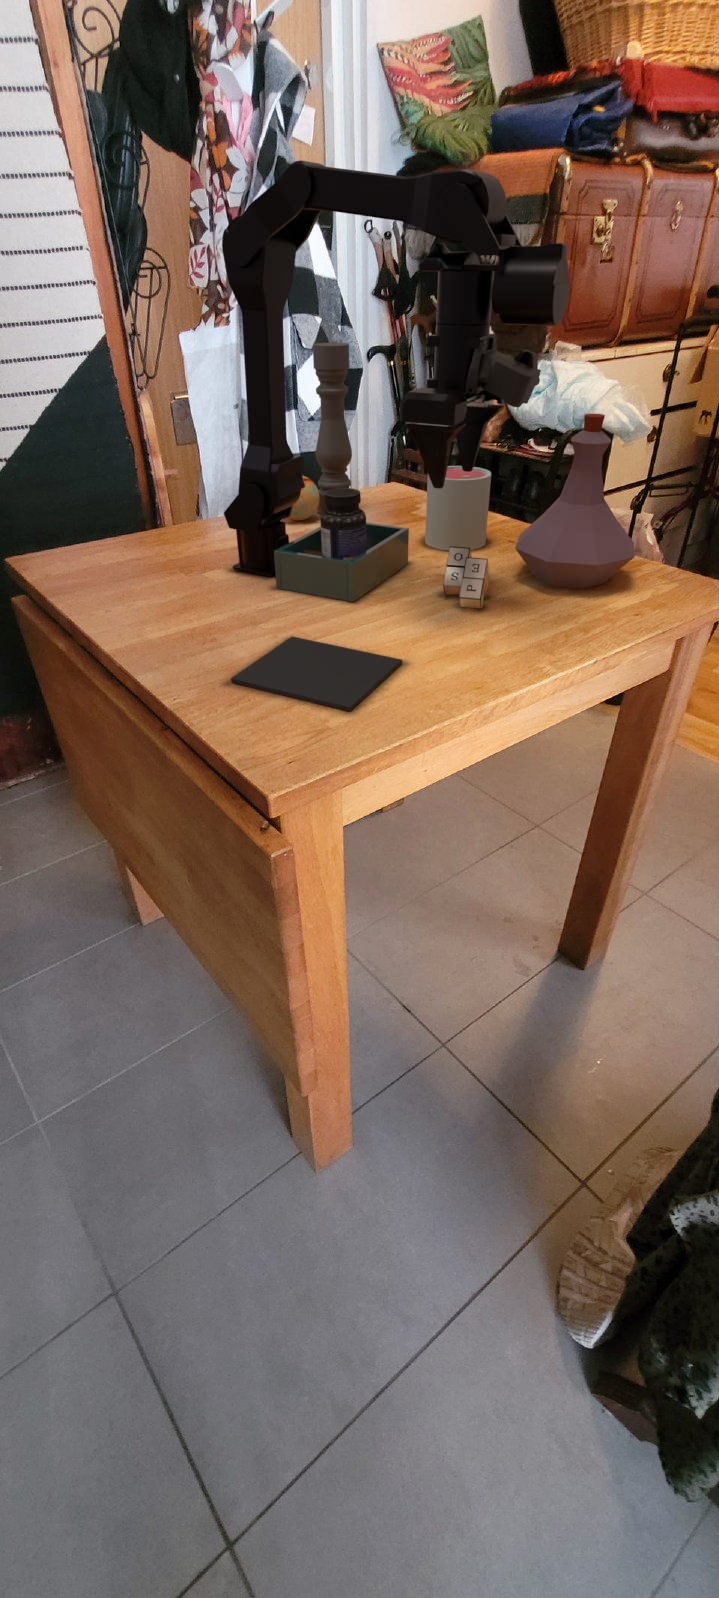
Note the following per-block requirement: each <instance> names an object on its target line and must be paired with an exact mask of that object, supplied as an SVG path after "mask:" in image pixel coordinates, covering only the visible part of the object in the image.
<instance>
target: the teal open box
mask: <svg viewBox="0 0 719 1598" xmlns="http://www.w3.org/2000/svg"><path fill="white" fill-rule="evenodd" d="M409 533H410V528H409V527H403V526H396V525H389V524H381V523H375V522H367V521H366V546H367V551H365V552H364V553H362V554H361V555H359V556H357V557H356V558H354V559H353V560H351V561H347V560H341V559H335V558H329V557H323V556H322V543H321V526H318V527H317V528H315V529H313V530H311V531H309V532H308V533H305V534H304V535H301V536H300V537H298V538H296V539H294V540H292V541H289V543H288V544H286V545H284V546H282V547H280V548H278V549H277V550H275V551H274V558H275V572H276V574H275V582H276V583H275V585H276V589H280V590H284V591H285V590H286V591H291V592H296V593H302V594H306V595H312V596H319V597H323V598H329V599H334V600H339V601H346V602H351V603H355V602H356V601H357V600H358V599H360V598H361V597H363V596H364V595H366V594H367V593H368V592H370V591H371V590H372V589H374V588H375V587H377V586H378V585H379V584H381V583H383V582H384V581H385V580H388V578H390V577H391V576H393V575H394V574H395V573H397V572H399V570H401V569H403V568H404V567H405V566H406V565H408V564H409V540H410V539H409V536H410V534H409Z"/></svg>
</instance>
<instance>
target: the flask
mask: <svg viewBox="0 0 719 1598" xmlns="http://www.w3.org/2000/svg"><path fill="white" fill-rule="evenodd" d="M583 415H584V416H583V417H584V419H583V421H584V422H583V429H581V431H579V432H578V433H577V434H575V435H573V436H572V437H571V439H570V443H571V445H572V446H571V447H572V449H573V452H574V453H573V454H574V455H573V460H572V463H571V464H572V465H571V468H570V470H569V473H568V475H567V479H566V481H565V483H564V486H563V488H562V491H561V493H560V496H559V497H558V498H557V499H556V500H555V501H554V502H553V503H552V504H551V505H550V506H549V507H548V508H547V509H546V510H545V511H544V513H542V514H541V515H540V516H538V518H536V519H535V521H533V522H532V523H531V524H530V525H529V526H528V527H526V528H525V529H524V530H523V531H522V532H521V533H519V535H518V538H517V540H516V541H517V542H516V544H515V548H514V549H515V551H516V552H517V553H518V555H519V556H520V557H521V559H522V560H523V562H524V563H525V564H526V566H527V567H528V568H529V570H530V571H531V573H532V574H533V575H534V577H535V578H536V580H538V581H540V582H543V583H545V584H548V585H550V586H551V587H555V588H564V589H565V588H566V589H577V590H578V589H580V590H583V589H588V588H592V587H596V586H600V585H603V584H605V583H606V581H608V580H609V579H610V578H611V577H612V578H613V576H614V575H615V574H616V573H618V572H619V571H620V570H621V569H622V568H624V567H625V566H626V565H627V564H629V562H631V561H632V560H633V559H634V558H636V556H635V555H636V554H635V542H634V540H632V538H631V536H629V534H628V532H627V531H626V530H625V529H624V527H623V526H622V524H621V523H620V522H619V521H618V519H617V518H616V516H615V515H614V513H613V511H612V509H611V508H610V506H609V504H608V502H607V501H606V499H605V493H604V491H605V490H604V482H603V479H604V478H603V456H604V454H605V453H606V451H607V449H608V447H609V446H610V444H611V443H612V441H611V438H610V437H609V436H608V435H607V434H606V433H605V432H604V431H603V430H602V428H603V424H604V421H605V416H606V415H605V414H602V413H584V414H583Z"/></svg>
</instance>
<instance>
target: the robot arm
mask: <svg viewBox="0 0 719 1598" xmlns="http://www.w3.org/2000/svg"><path fill="white" fill-rule="evenodd" d="M506 197H507V196H506V193H505V189H504V187H503V185H502V183H501V182H500V180H499V179H498V178H497V177H496V176H495V175H492V174H490V173H487V172H482V171H477V170H473V169H469V168H456V169H455V168H454V169H447V170H439V171H431V172H426V173H421V174H417V175H410V176H403V175H397V174H396V175H395V174H387V173H380V172H371V171H363V170H356V169H347V168H339V167H331V166H326V165H323V164H322V163H319V162H314V161H307V160H295V161H294V162H292V163H291V164H290V165H289V166H287V167H286V168H285V170H284V171H283V172H282V174H281V175H280V177H279V178H278V179H277V181H276V182H274V183H273V184H272V185H270V187H268V188H267V189H266V190H265V191H264V192H262V193H261V194H260V195H259V196H258V197H256V198H255V199H254V200H252V201H251V202H250V204H249V205H248V206H247V207H246V209H245V210H244V211H243V213H242V214H241V215H238V216H235V217H234V218H233V219H231V220H230V221H229V223H228V225H227V226H226V228H225V229H224V230H223V232H222V237H221V250H222V256H223V262H224V267H225V273H226V277H227V283H228V286H229V288H230V290H231V291H232V294H233V296H234V298H235V300H236V302H237V305H238V306H239V309H240V311H241V327H242V342H243V343H242V344H243V345H242V346H243V360H244V361H243V363H244V378H245V379H244V381H245V396H246V414H247V430H248V433H247V434H248V444H247V447H246V450H245V453H244V456H243V459H242V461H241V464H240V467H239V479H238V489H237V490H238V492H237V493H238V494H237V495H236V496H235V498H234V499H233V500H232V502H231V503H230V504H229V505H228V507H227V508H226V509H225V510H224V512H223V516H224V518H225V521H226V524H227V526H228V528H229V529H231V530H235V531H236V533H235V534H236V543H237V553H238V562H237V563H236V564H234V565H232V569H233V571H238V572H245V573H249V574H256V575H261V576H267V577H272V576H274V575H276V572H275V558H274V551H275V550H277V549H278V548H280V547H282V546H284V545H286V544H288V543H290V536H289V534H288V533H287V529H286V527H287V526H286V522H285V521H282V520H284V519H288V517H290V515H291V512H292V508H293V505H294V504H295V503H296V502H297V500H299V497H300V494H301V489H302V488H304V487H305V484H304V481H303V476H304V475H303V470H304V463H305V462H304V457H303V456H302V455H294V453H293V452H292V450H291V447H290V445H289V442H288V437H287V413H286V412H287V407H286V405H287V404H286V372H285V345H284V344H285V338H284V336H285V335H284V309H285V306H286V304H287V300H288V297H289V295H290V292H291V289H292V286H293V284H294V277H295V276H294V275H295V266H296V258H297V257H296V256H297V252H298V251H299V249H301V248H302V246H303V245H304V244H305V242H306V241H307V240H308V239H309V238H310V236H311V234H312V231H313V230H314V227H315V225H316V222H317V221H318V219H319V216H320V215H321V214H322V213H323V211H328V212H334V213H342V214H350V215H356V216H363V217H368V218H369V217H370V218H376V219H383V220H390V221H396V222H402V223H405V224H407V225H410V226H412V227H414V228H415V229H417V230H419V231H421V232H423V233H425V234H428V235H431V236H433V237H435V238H438V239H439V240H443V241H446V242H447V243H451V244H455V245H466V246H467V248H469V249H470V250H471V251H450V250H449V248H448V247H447V245H446V243H444V242H435V243H434V244H433V246H432V248H431V250H430V251H429V253H428V254H427V255H426V256H425V257H424V258H423V259H422V260H420V262H419V263H418V265H417V267H418V270H419V271H421V272H437V291H436V292H437V296H436V315H435V316H436V317H435V333H434V334H429V335H428V347H431V348H433V347H434V361H433V376H432V377H431V378H427V379H426V387H420V388H415V389H413V390H409V391H408V392H407V393H406V394H405V395H404V396H403V397H402V398H401V399H400V400H399V421H400V422H402V423H404V426H405V429H407V430H409V433H410V435H411V437H412V439H413V441H414V443H415V445H416V447H417V451H418V453H419V455H420V458H421V459H422V462H423V465H424V467H425V469H426V472H427V476H428V475H429V477H430V480H431V483H432V485H433V487H434V488H439V489H441V488H443V486H444V482H445V477H446V472H447V467H448V466H449V461H450V455H451V449H452V443H453V440H454V438H455V440H456V445H457V450H458V454H459V461H460V466H462V469H463V471H466V472H471V471H472V470H473V467H475V464H476V461H477V457H478V454H479V451H480V448H481V445H482V442H483V439H484V435H485V432H486V430H487V427H488V424H489V422H490V421H491V420H493V419H494V418H495V417H496V416H497V415H498V414H499V413H500V412H502V410H504V408H506V407H505V405H503V404H506V405H508V406H510V407H513V408H520V407H521V406H522V405H526V404H528V403H529V401H530V399H531V396H532V394H533V392H534V389H535V387H536V386H539V384H540V382H541V378H540V376H541V373H542V370H541V369H540V368H539V365H538V364H539V362H538V361H539V354H537V353H535V352H533V351H531V350H529V349H524V350H521V351H520V352H519V353H518V354H517V355H516V356H515V357H513V355H512V354H505V353H503V352H500V351H499V350H498V337H496V333H491V332H490V331H491V319H492V310H493V313H494V314H495V315H499V319H500V321H501V324H503V325H511V326H543V327H544V326H545V327H549V326H550V327H558V326H560V325H561V323H562V322H563V319H564V317H565V314H566V310H567V306H568V302H569V297H570V296H569V295H570V289H571V283H570V282H569V277H570V276H569V263H568V259H567V256H568V248H569V247H568V243H566V242H565V243H563V242H552V243H551V242H549V243H545V244H543V245H523V244H522V243H521V241H520V238H519V236H518V234H517V232H516V230H515V228H514V226H513V224H512V222H511V221H510V219H509V216H508V214H507V198H506ZM480 256H481V257H482V256H483V257H484V256H485V257H486V256H487V257H488V256H489V257H490V256H497V257H498V264H481V263H480V259H479V257H480ZM494 401H496V403H497V404H494Z"/></svg>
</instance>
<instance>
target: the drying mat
mask: <svg viewBox="0 0 719 1598" xmlns="http://www.w3.org/2000/svg"><path fill="white" fill-rule="evenodd" d="M402 664H403V659H401V658H397V657H392V656H386V655H381V654H379V653H378V654H377V653H372V652H369V651H363V650H358V649H353V648H348V647H344V646H339V645H335V644H330V643H324V642H320V641H315V640H310V639H305V638H301V637H296V636H290V637H289V638H288V639H286V640H285V641H283V642H282V643H280V644H278V645H277V646H276V647H274V648H273V649H271V650H270V651H268V652H267V653H266V654H264V655H263V656H262V657H260V658H258V659H256V660H255V661H254V662H253V663H251V664H250V665H248V666H246V667H245V668H244V669H243V670H241V671H239V672H237V674H235V675H233V676H232V677H231V678H230V682H231V683H232V684H235V685H241V686H245V687H248V688H252V689H257V690H261V691H265V692H269V693H273V694H276V695H282V696H284V697H289V698H292V699H297V700H301V701H306V702H310V703H312V704H313V703H314V704H318V705H321V706H326V707H330V708H334V709H338V710H343V711H347V712H351V711H352V710H353V709H354V708H356V707H357V706H358V705H359V704H360V703H361V702H362V701H363V700H364V699H365V698H367V697H368V696H369V695H370V694H371V693H372V692H373V691H374V690H376V688H377V687H379V686H380V684H382V683H383V682H384V681H385V680H386V679H387V678H388V677H390V676H391V675H392V674H393V673H394V672H395V671H396V670H397V669H399V667H401V665H402Z"/></svg>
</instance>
